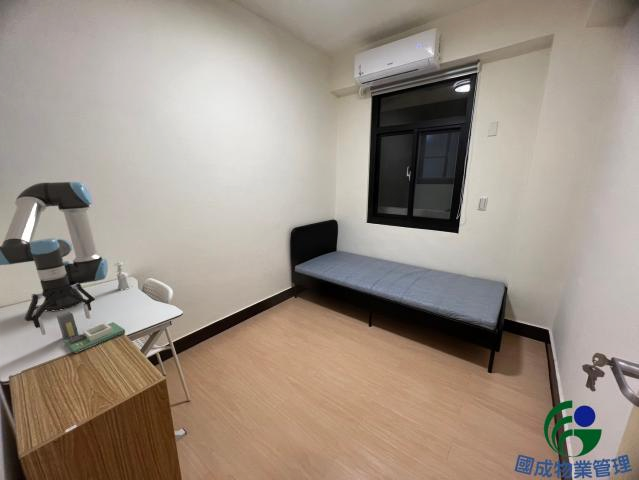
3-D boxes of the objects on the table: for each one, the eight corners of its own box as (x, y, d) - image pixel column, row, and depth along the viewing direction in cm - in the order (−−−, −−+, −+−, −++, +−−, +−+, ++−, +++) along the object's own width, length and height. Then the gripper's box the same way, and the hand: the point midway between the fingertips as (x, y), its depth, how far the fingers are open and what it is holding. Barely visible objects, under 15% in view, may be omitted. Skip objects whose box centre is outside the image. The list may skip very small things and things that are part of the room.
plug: (62, 337, 104) (56, 315, 102) (75, 332, 107) (69, 311, 105) (66, 340, 102) (59, 318, 100) (79, 335, 105) (73, 314, 103)
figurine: (116, 288, 154) (109, 261, 150) (131, 284, 160) (125, 257, 156) (118, 291, 150) (112, 263, 146) (134, 287, 156) (129, 259, 152)
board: (65, 344, 99) (63, 336, 98) (113, 325, 112) (112, 317, 112) (75, 354, 93) (72, 345, 92) (125, 332, 106) (123, 324, 105)
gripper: (6, 290, 87) (24, 344, 91) (96, 269, 107) (107, 314, 112) (2, 286, 91) (19, 338, 95) (90, 267, 111) (101, 310, 116)
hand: (67, 325), depth 103 cm, fingers open, 13 cm apart
